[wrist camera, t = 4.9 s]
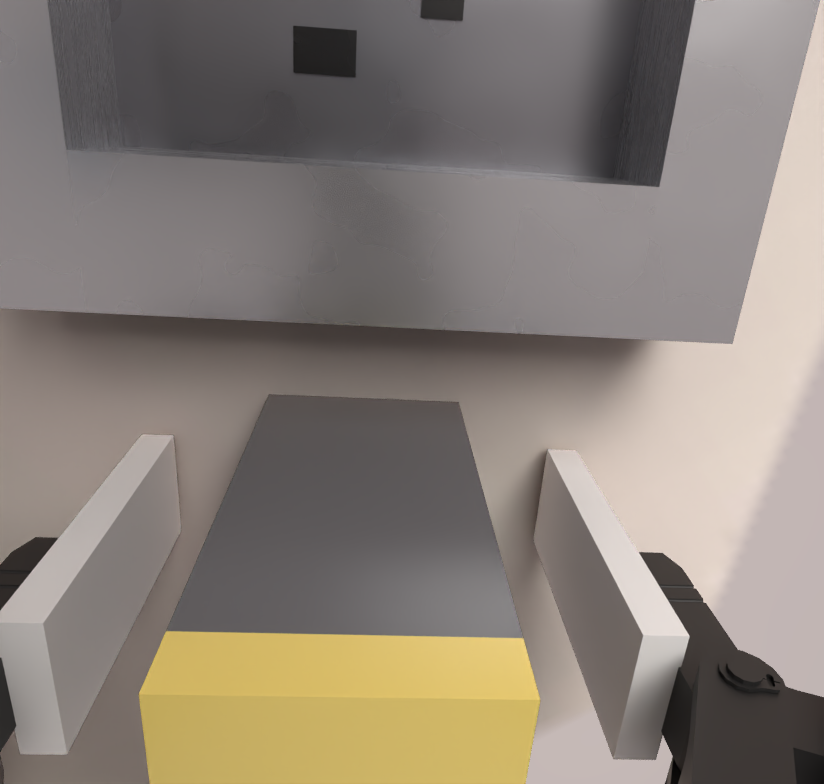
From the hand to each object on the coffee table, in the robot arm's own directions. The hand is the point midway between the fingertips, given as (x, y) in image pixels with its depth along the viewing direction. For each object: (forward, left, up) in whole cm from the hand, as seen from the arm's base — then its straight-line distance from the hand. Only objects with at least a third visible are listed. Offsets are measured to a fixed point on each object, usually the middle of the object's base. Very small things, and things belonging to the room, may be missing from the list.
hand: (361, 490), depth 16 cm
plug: (0, 0, 0) cm, 0 cm away
